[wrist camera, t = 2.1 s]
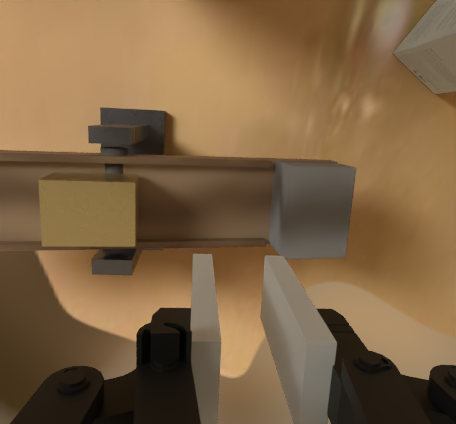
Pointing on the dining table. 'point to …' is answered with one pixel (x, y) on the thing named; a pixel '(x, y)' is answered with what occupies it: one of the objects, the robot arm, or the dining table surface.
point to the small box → (433, 48)
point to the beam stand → (137, 144)
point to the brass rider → (89, 209)
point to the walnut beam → (196, 200)
